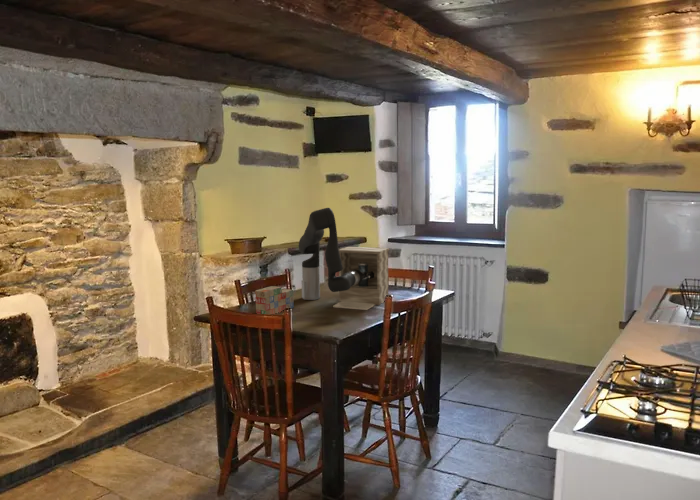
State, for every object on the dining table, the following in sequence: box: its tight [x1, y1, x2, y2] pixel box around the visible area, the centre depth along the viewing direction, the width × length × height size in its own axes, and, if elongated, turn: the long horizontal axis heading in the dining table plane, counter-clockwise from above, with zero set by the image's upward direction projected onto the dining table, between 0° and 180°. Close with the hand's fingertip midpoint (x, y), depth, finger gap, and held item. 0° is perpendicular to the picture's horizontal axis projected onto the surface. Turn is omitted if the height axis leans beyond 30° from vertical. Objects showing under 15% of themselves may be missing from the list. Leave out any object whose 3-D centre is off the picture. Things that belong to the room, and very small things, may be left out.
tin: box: [358, 262, 368, 287], centre depth 296 cm, size 5×5×12 cm
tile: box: [332, 301, 375, 311], centre depth 286 cm, size 11×18×1 cm, turn 67°
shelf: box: [338, 246, 390, 306], centre depth 297 cm, size 15×23×27 cm, turn 67°
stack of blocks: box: [254, 285, 295, 315], centre depth 276 cm, size 21×6×12 cm, turn 148°
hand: (364, 272), depth 298 cm, fingers open, 8 cm apart
